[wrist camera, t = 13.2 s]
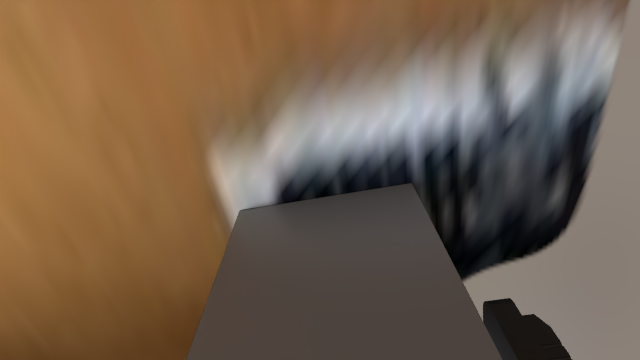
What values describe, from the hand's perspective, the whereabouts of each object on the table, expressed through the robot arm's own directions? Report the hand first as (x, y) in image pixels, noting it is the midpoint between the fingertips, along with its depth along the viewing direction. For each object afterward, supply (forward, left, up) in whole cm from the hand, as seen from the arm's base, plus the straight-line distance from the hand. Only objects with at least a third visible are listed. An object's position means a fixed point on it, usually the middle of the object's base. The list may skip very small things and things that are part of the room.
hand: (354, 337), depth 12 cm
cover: (0, 0, -4) cm, 4 cm away
